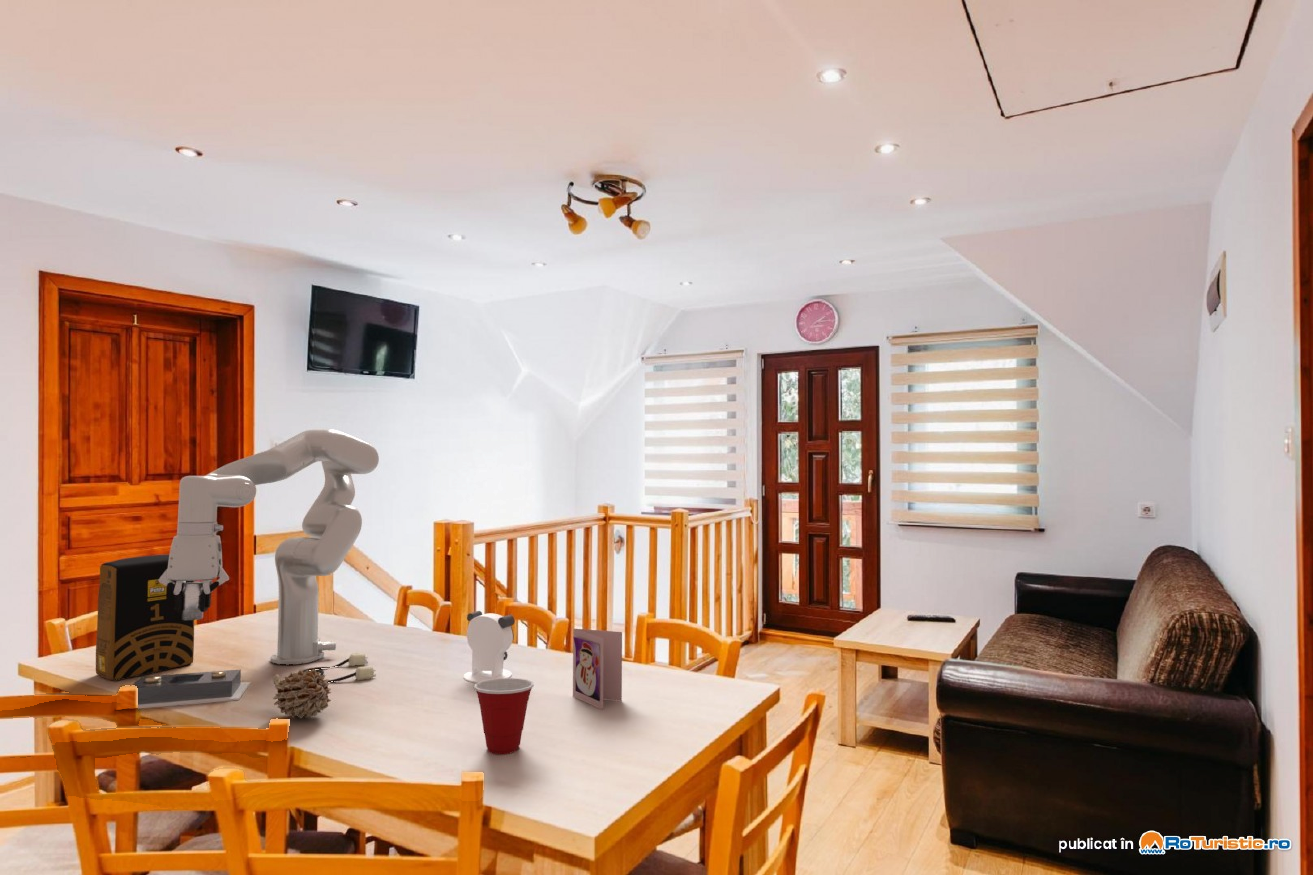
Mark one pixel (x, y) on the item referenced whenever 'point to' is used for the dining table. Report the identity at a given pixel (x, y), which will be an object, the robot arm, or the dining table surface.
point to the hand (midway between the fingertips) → (192, 610)
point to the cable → (353, 660)
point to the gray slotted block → (187, 686)
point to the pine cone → (302, 693)
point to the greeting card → (597, 666)
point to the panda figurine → (489, 645)
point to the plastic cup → (503, 712)
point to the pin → (192, 601)
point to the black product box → (139, 620)
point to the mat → (235, 696)
